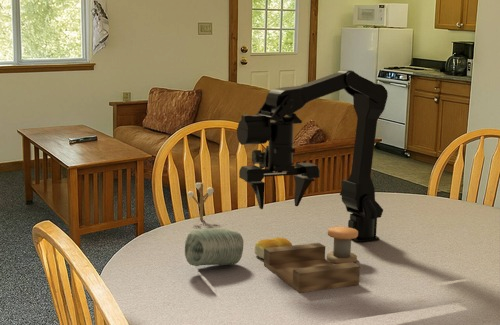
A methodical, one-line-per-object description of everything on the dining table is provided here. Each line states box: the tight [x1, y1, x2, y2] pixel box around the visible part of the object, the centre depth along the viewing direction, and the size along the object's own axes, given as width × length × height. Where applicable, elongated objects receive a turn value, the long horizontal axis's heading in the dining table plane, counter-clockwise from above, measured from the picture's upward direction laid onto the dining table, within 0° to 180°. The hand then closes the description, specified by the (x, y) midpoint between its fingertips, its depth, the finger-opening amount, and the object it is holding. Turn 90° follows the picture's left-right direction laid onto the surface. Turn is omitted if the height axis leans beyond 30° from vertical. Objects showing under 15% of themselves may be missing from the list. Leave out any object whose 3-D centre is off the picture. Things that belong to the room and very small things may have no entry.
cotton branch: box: [187, 182, 215, 221], centre depth 185 cm, size 7×6×12 cm
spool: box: [184, 227, 245, 267], centre depth 149 cm, size 14×10×10 cm
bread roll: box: [254, 237, 293, 260], centre depth 158 cm, size 8×9×4 cm
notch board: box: [263, 242, 361, 293], centre depth 146 cm, size 14×18×4 cm
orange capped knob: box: [326, 226, 358, 264], centre depth 156 cm, size 7×7×7 cm
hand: (278, 207), depth 160 cm, fingers open, 9 cm apart
